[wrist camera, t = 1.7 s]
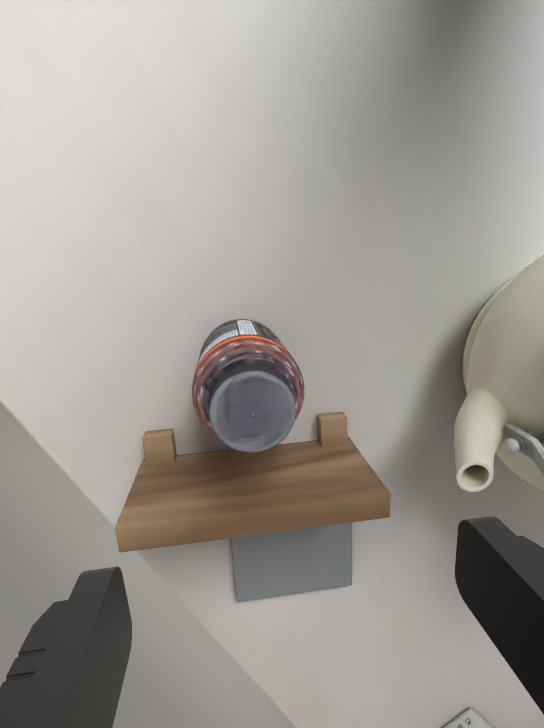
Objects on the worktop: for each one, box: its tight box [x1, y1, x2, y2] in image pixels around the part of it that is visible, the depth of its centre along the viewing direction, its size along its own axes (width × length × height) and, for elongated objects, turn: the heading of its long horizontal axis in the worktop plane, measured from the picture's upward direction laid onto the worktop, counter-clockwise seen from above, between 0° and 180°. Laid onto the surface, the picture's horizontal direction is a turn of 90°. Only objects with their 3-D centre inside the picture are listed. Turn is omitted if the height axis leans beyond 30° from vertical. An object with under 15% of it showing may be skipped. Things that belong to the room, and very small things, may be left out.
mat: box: [231, 522, 352, 602], centre depth 33 cm, size 10×10×1 cm
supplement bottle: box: [192, 319, 304, 453], centre depth 23 cm, size 6×6×11 cm
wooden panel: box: [115, 412, 390, 552], centre depth 27 cm, size 6×16×8 cm, turn 93°
